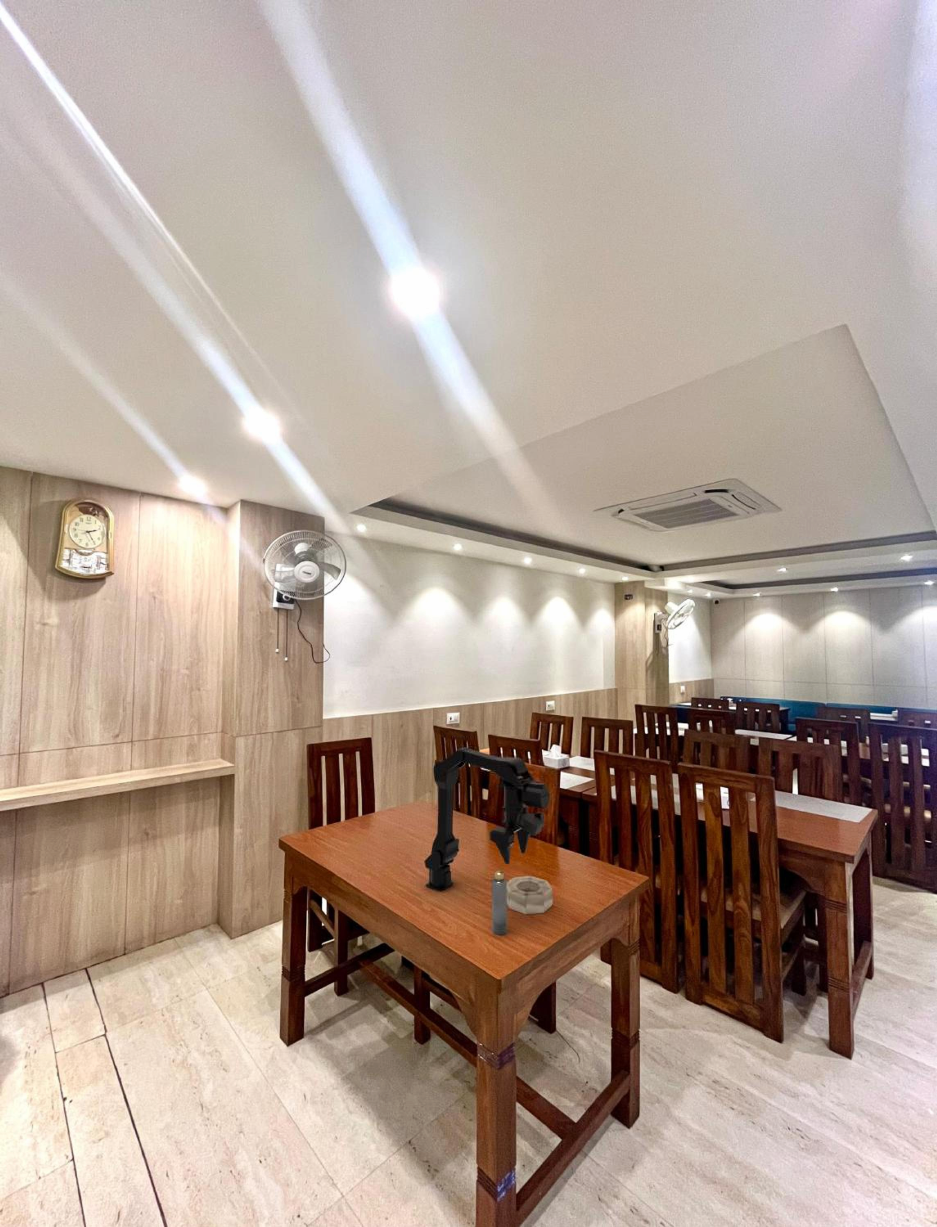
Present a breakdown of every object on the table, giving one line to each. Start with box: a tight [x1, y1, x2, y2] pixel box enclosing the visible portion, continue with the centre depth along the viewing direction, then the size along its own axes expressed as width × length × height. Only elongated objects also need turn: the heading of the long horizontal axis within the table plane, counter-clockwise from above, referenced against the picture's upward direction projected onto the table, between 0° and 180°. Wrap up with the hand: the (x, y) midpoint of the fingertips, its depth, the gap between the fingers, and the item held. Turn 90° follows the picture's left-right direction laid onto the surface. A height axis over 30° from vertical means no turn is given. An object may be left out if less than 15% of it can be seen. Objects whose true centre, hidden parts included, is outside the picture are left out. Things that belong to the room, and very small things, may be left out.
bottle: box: [491, 870, 508, 936], centre depth 134 cm, size 4×4×15 cm
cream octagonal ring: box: [507, 875, 553, 915], centre depth 149 cm, size 13×13×4 cm
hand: (515, 858), depth 145 cm, fingers open, 9 cm apart
